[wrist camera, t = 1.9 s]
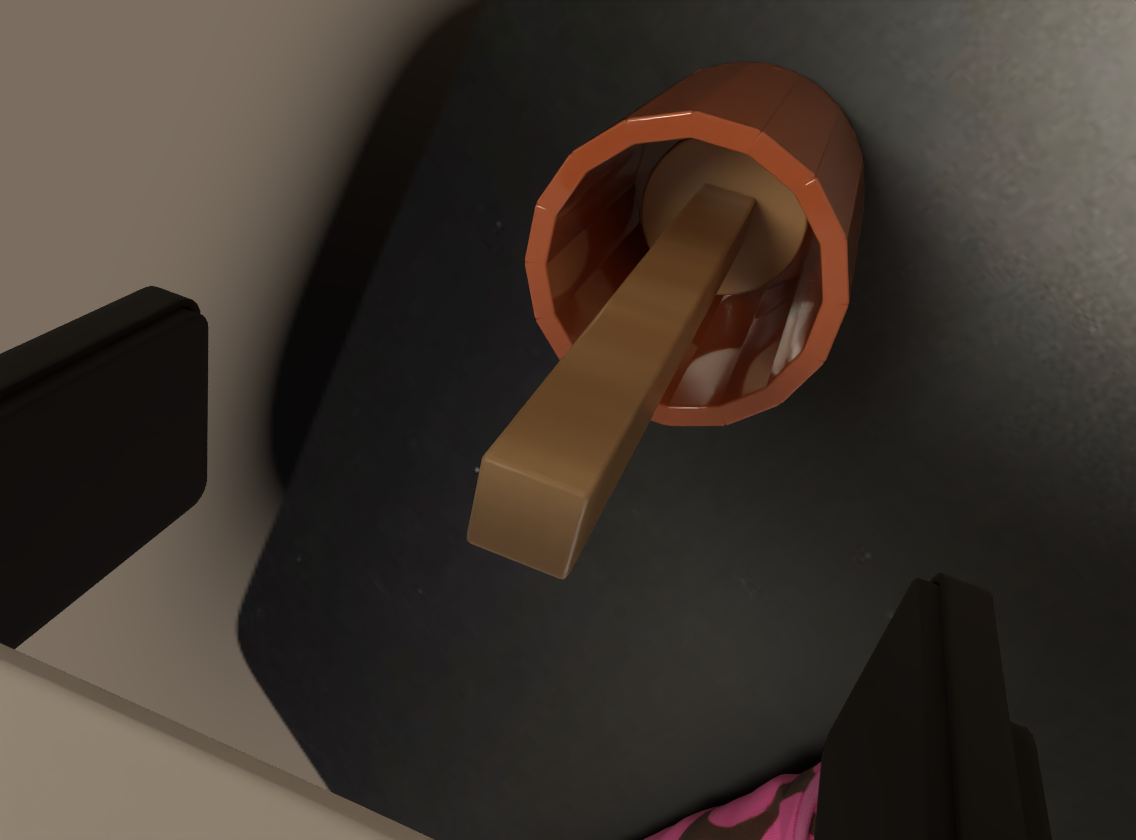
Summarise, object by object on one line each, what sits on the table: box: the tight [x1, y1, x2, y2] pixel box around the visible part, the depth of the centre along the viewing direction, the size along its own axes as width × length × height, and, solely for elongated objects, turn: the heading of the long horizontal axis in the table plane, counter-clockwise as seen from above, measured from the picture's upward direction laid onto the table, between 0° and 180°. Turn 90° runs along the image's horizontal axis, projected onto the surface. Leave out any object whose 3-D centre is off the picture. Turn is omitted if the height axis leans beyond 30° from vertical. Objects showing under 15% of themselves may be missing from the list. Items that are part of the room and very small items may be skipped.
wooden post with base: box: [467, 138, 809, 579], centre depth 18 cm, size 4×4×16 cm
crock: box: [525, 62, 865, 426], centre depth 22 cm, size 7×7×8 cm
